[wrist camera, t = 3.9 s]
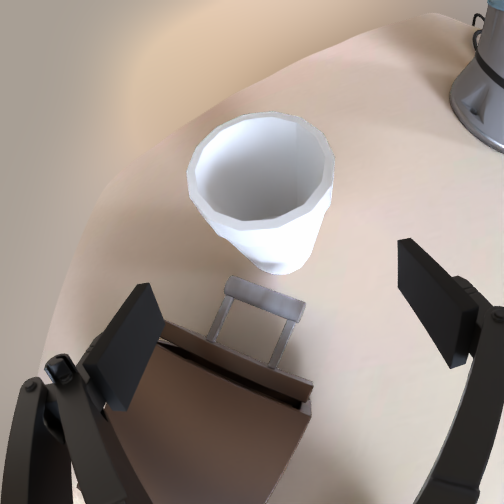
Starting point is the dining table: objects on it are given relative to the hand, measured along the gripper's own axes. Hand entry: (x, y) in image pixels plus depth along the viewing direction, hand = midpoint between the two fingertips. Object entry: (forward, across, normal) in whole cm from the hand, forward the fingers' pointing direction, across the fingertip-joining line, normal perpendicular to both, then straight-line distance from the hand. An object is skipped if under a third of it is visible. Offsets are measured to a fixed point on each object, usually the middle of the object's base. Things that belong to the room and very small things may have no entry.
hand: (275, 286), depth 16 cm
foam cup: (+15, 0, -4) cm, 16 cm away
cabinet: (+2, -8, -17) cm, 19 cm away
